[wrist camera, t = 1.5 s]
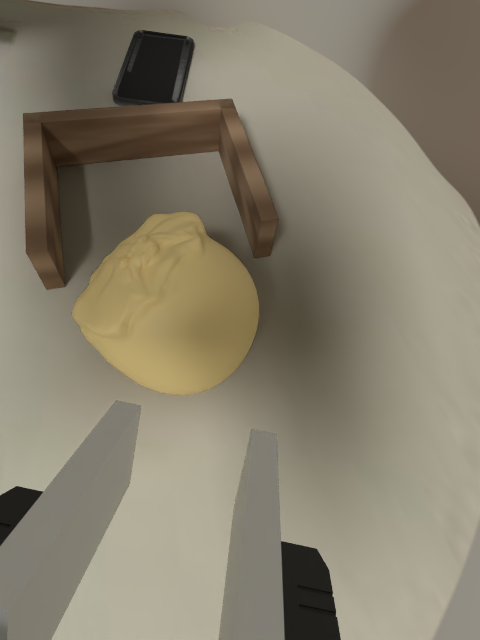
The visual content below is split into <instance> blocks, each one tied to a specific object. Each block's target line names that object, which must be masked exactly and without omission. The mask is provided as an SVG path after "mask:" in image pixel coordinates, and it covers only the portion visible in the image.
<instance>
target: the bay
mask: <svg viewBox="0 0 480 640" xmlns="http://www.w3.org/2000/svg"><path fill="white" fill-rule="evenodd" d="M23 130H24V179H25V228H26V253H27V255H28V257H29V259H30V261H31V262H32V264H33V266H34V268H35V270H36V271H37V273H38V275H39V277H40V278H41V280H42V282H43V284H44V286H45V287H46V289H53V288H59V287H65V278H64V264H63V250H62V236H61V222H60V208H59V194H58V180H57V166H67V165H77V164H87V163H98V162H108V161H119V160H129V159H139V158H150V157H160V156H170V155H181V154H191V153H202V152H212V151H219V153H220V156H221V159H222V162H223V165H224V168H225V171H226V174H227V177H228V180H229V183H230V186H231V189H232V192H233V195H234V198H235V201H236V204H237V207H238V210H239V213H240V216H241V219H242V222H243V225H244V228H245V231H246V234H247V237H248V240H249V243H250V246H251V249H252V252H253V255H254V258H258V257H264V256H270V253H271V248H272V244H273V240H274V236H275V232H276V228H277V224H278V220H279V218H278V216H277V213H276V210H275V208H274V205H273V203H272V200H271V198H270V195H269V193H268V190H267V187H266V185H265V182H264V180H263V177H262V175H261V172H260V169H259V167H258V164H257V162H256V159H255V157H254V154H253V151H252V149H251V146H250V144H249V141H248V139H247V136H246V134H245V131H244V128H243V126H242V123H241V121H240V118H239V116H238V113H237V110H236V108H235V105H234V103H233V100H232V99H220V100H206V101H192V102H178V103H164V104H150V105H136V106H122V107H108V108H94V109H80V110H66V111H52V112H38V113H24V114H23Z"/></svg>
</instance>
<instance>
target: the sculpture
mask: <svg viewBox="0 0 480 640" xmlns="http://www.w3.org/2000/svg"><path fill="white" fill-rule="evenodd" d="M72 316H73V319H74V320H75V321H76V323H77V324H78V325H80V329H81V332H82V333H83V334H84V335H85V337H86V339H87V341H88V342H90V343H91V344H92V345H93V346H94V347H95V348H96V349H97V350H98V351H99V352H100V353H101V355H102V356H103V357H104V358H105V359H106V360H107V361H108V362H109V363H110V364H111V365H113V366H114V367H115V368H117V369H118V370H119V371H121V372H122V373H123V374H125V375H126V376H127V377H129V378H130V379H132V380H133V381H135V382H136V383H138V384H140V385H142V386H144V387H146V388H148V389H151V390H154V391H157V392H160V393H165V394H171V395H189V394H195V393H200V392H203V391H206V390H208V389H210V388H212V387H214V386H216V385H218V384H219V383H221V382H222V381H224V380H225V379H226V378H227V377H229V376H230V375H231V374H232V373H233V372H234V371H235V370H236V369H237V367H238V366H239V365H240V364H241V362H242V361H243V360H244V358H245V356H246V355H247V353H248V351H249V349H250V347H251V345H252V343H253V340H254V337H255V334H256V331H257V326H258V320H259V300H258V295H257V291H256V287H255V285H254V282H253V280H252V278H251V276H250V274H249V272H248V271H247V269H246V268H245V266H244V265H243V264H242V263H241V261H240V260H239V259H238V258H237V257H236V256H235V255H234V254H233V253H232V252H230V251H229V250H228V249H227V248H225V247H224V246H222V245H221V244H219V243H217V242H216V241H214V240H212V239H211V238H210V237H208V236H207V234H206V230H205V227H204V224H203V222H202V220H201V218H200V217H199V216H198V215H196V214H194V213H191V212H175V213H172V214H153V215H152V216H150V217H149V218H148V219H147V220H146V221H145V222H144V223H143V224H142V226H141V227H140V228H139V229H138V230H137V231H136V232H135V233H134V234H132V235H131V236H129V237H128V238H127V239H125V240H123V241H121V242H120V243H119V245H118V246H117V247H116V248H115V249H114V250H113V252H112V253H111V254H109V255H107V256H106V257H105V258H104V259H103V261H102V263H101V265H100V266H99V267H98V268H97V269H96V270H95V271H94V273H93V274H92V276H91V278H90V281H89V286H88V287H87V288H86V289H85V290H84V291H83V293H82V294H81V295H80V296H79V297H78V299H77V300H76V302H75V305H74V308H73V311H72Z"/></svg>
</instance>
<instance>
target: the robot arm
mask: <svg viewBox="0 0 480 640" xmlns="http://www.w3.org/2000/svg"><path fill="white" fill-rule="evenodd" d="M140 411H141V406H140V405H136V404H131V403H126V402H121V401H117V400H116V401H115V403H114V404H113V405H112V406H111V408H110V409H109V410H108V412H107V413H106V414H105V415H104V417H103V418H102V419H101V420H100V422H99V423H98V424H97V425H96V427H95V428H94V429H93V430H92V432H91V433H90V434H89V435H88V437H87V438H86V439H85V440H84V442H83V443H82V444H81V445H80V447H79V448H78V449H77V450H76V452H75V453H74V454H73V455H72V457H71V458H70V459H69V461H68V462H67V463H66V464H65V466H64V467H63V468H62V469H61V471H60V472H59V473H58V474H57V476H56V477H55V478H54V479H53V481H52V482H51V483H50V484H49V486H48V487H47V488H46V489H45V491H44V492H42V491H37V490H32V489H28V488H23V487H18V486H16V487H14V488H13V489H11V490H9V491H7V492H6V493H4V494H2V495H0V640H51V639H52V637H53V635H54V633H55V631H56V629H57V627H58V625H59V623H60V621H61V619H62V617H63V615H64V613H65V611H66V609H67V607H68V605H69V603H70V601H71V599H72V597H73V595H74V593H75V591H76V589H77V587H78V585H79V583H80V581H81V579H82V577H83V575H84V573H85V571H86V569H87V567H88V565H89V563H90V561H91V559H92V557H93V555H94V553H95V551H96V549H97V547H98V545H99V544H100V542H101V540H102V538H103V536H104V534H105V532H106V530H107V528H108V526H109V524H110V522H111V520H112V518H113V516H114V514H115V512H116V510H117V508H118V506H119V504H120V502H121V500H122V498H123V496H124V494H125V492H126V490H127V488H128V486H129V484H130V479H131V472H132V465H133V459H134V452H135V445H136V438H137V431H138V425H139V418H140ZM332 594H333V591H332V585H331V579H330V573H329V569H328V567H327V566H326V564H325V562H324V561H323V559H322V557H321V555H320V554H319V552H318V550H317V549H315V548H310V547H306V546H301V545H296V544H292V543H287V542H282V541H281V531H280V505H279V479H278V453H277V434H273V433H268V432H264V431H259V430H254V429H251V434H250V438H249V443H248V447H247V451H246V456H245V460H244V464H243V469H242V473H241V478H240V482H239V486H238V491H237V495H236V499H235V504H234V511H233V519H232V528H231V537H230V545H229V554H228V563H227V571H226V580H225V589H224V598H223V606H222V615H221V624H220V632H219V640H341V639H340V633H339V627H338V621H337V617H336V609H335V603H334V597H332Z"/></svg>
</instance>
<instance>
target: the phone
mask: <svg viewBox="0 0 480 640" xmlns="http://www.w3.org/2000/svg"><path fill="white" fill-rule="evenodd" d="M192 52H193V39H192V38H190V37H187V36H181V35H174V34H166V33H159V32H152V31H145V30H140V31H137V32H135V33H134V35H133V38H132V41H131V43H130V46H129V49H128V52H127V54H126V57H125V60H124V62H123V65H122V68H121V70H120V73H119V76H118V79H117V81H116V84H115V87H114V89H113V93H112V94H113V100H114V102H115V103H116V104H118V105H123V106H136V105H139V104H143V105H150V104H164V103H178V102H181V100H182V96H183V91H184V87H185V83H186V78H187V74H188V69H189V65H190V61H191V56H192ZM126 103H127V104H126Z"/></svg>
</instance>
